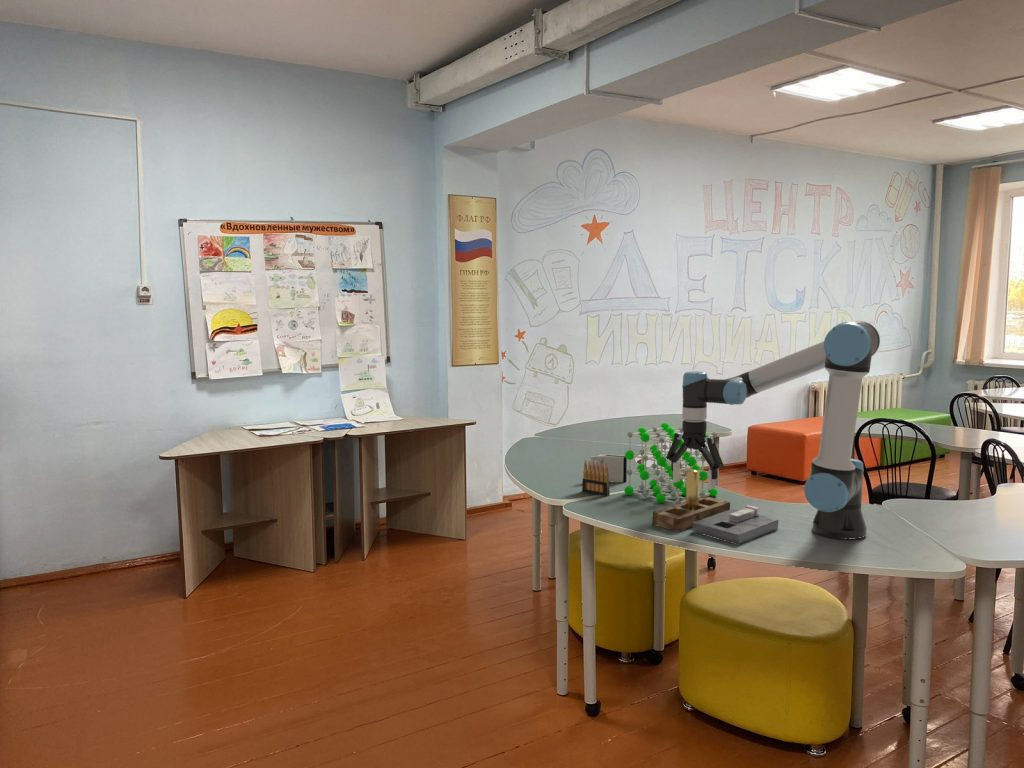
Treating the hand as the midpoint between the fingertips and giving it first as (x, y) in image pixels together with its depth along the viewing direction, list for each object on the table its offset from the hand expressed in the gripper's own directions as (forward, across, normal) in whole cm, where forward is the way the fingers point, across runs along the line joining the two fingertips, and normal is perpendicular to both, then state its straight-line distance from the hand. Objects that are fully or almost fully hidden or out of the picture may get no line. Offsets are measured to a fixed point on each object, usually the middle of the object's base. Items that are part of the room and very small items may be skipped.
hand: (693, 485), depth 243 cm
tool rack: (+11, 0, 0) cm, 11 cm away
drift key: (+8, -16, -4) cm, 18 cm away
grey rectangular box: (+11, +52, -17) cm, 55 cm away
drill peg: (+11, 0, 0) cm, 11 cm away
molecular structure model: (+11, +22, -18) cm, 31 cm away
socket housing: (+11, -16, 0) cm, 19 cm away
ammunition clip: (+11, +42, 0) cm, 44 cm away
